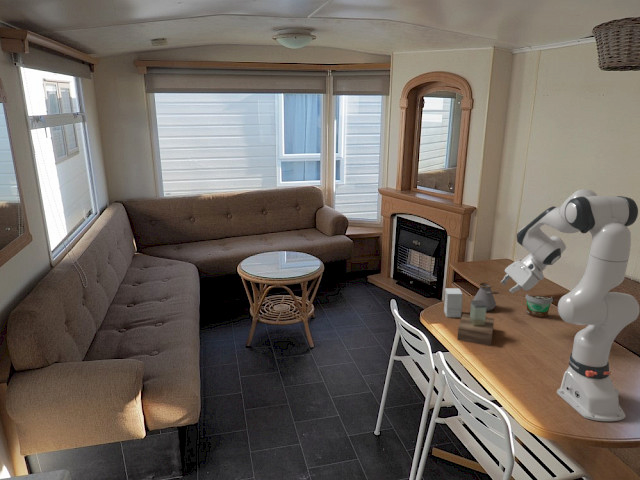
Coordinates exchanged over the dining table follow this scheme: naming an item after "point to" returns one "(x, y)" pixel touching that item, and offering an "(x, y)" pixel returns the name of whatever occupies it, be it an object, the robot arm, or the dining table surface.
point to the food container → (538, 306)
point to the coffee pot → (486, 295)
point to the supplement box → (453, 302)
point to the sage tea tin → (478, 313)
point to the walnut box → (475, 331)
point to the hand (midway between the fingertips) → (505, 287)
